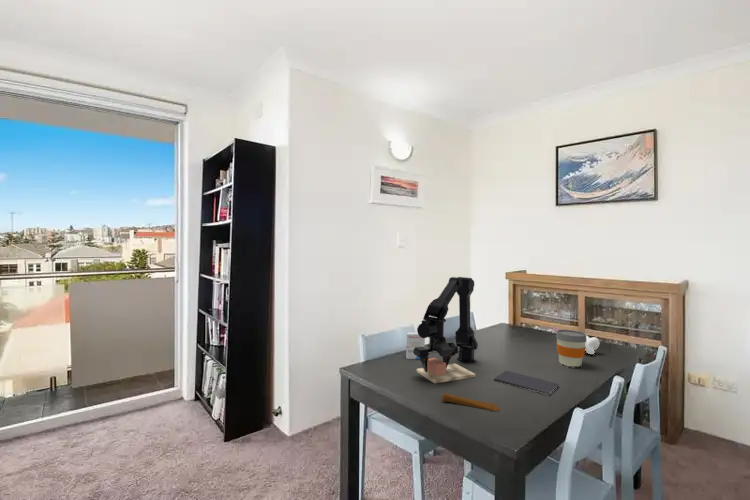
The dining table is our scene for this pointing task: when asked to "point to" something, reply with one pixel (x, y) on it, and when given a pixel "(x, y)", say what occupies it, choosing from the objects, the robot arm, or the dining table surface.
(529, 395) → the dining table surface
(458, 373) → the board
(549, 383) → the notebook
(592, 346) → the white rounded figurine
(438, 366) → the block
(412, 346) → the ink box
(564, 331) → the reusable coffee cup
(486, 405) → the primitive tool
